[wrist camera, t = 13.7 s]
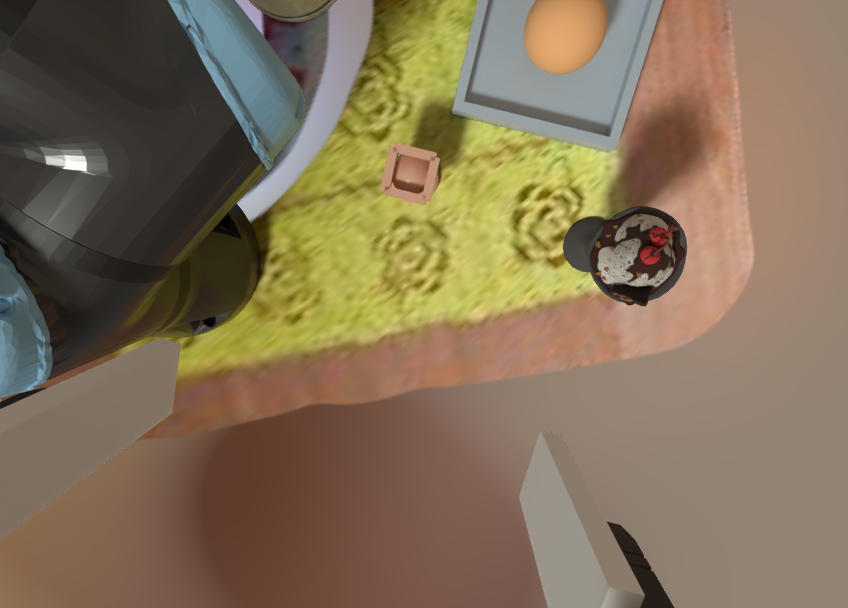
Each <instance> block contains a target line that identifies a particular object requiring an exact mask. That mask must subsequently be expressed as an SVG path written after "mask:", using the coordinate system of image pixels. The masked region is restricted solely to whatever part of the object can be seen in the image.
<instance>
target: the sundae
mask: <svg viewBox="0 0 848 608" xmlns="http://www.w3.org/2000/svg"><path fill="white" fill-rule="evenodd" d="M563 250H564V255H565V257H566V260H567V261H568V262H569V264H570V265H571V266H572V267H574V268H576V269H577V270H580V271H583V272H590V273H591V275H592V277H593V279H594V281H595V283H596V284H597V285H598V287H599V288H600V289H601V290H602V291H603V292H604V293H605V294H606V295H607V296H609V297H611V298H612V299H614V300H616V301H619V302H623V303H626V304H627V305H633V304H635V303H636V304H638V305H640V306H646V305H647V303H648V301H650V300H653V299H656V298H659V297H660V296H662V295H663V294H665V293H666V292H668V291H669V290H670V289H671V288H672V287H673V286H674V285H675V284H676V282H677V281H678V279H679V277H680V275H681V273H682V271H683V268H684V264H685V259H686V253H687V243H686V237H685V234H684V231H683V229H682V228H681V226H680V225H679V223H678V222H677V221H676V220H675V219H674V218H673V217H672V216H670V215H668V214H667V213H665V212H663V211H661V210H658V209H656V208H651V207H643V206H639V207H632V208H629V209H627V210H624V211H622V212H620V213H618V214H616V215H615V216H614V217H612V218H611V219H610V220H606V221H605V220H603V219H600V218H586V219H583V220H580V221H578V222H577V223H576V224H574V225H573V226H572V227H571V228H570V229H569V231H568V232H567V234H566V236H565V238H564V243H563Z"/></svg>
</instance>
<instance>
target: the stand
mask: <svg viewBox="0 0 848 608" xmlns="http://www.w3.org/2000/svg"><path fill="white" fill-rule="evenodd" d="M398 154H401V155H402V156H400V157H399V158H397V157H398ZM436 156H437V153H436V152H432V151H428V150H424V149H420V148H416V147H411V146H407V145H403V144H399V143H395V144H394V147H392V146H389V151H388V155H387V160H386V165H385V170H384V174H383V179H382V184H381V190H384V195H386V196H391V197H395V198H399V199H401V200H403V201H405V202H408V203H419V204H423V205H425V204H426V201H431V197H432V195H433V193H434V192H435V190H436V188H437V185H438V167H439V163H440V158H437V157H436Z"/></svg>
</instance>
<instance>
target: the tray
mask: <svg viewBox="0 0 848 608" xmlns="http://www.w3.org/2000/svg"><path fill="white" fill-rule="evenodd" d="M535 1H536V0H478V2H477V6H476V10H475V15H474V19H473V23H472V27H471V32H470V36H469V40H468V44H467V49H466V53H465V57H464V61H463V66H462V70H461V74H460V78H459V83H458V87H457V91H456V96H455V100H454V104H453V108H452V115H456V116H460V117H464V118H468V119H473V120H477V121H481V122H485V123H489V124H493V125H497V126H501V127H505V128H509V129H513V130H518V131H522V132H526V133H530V134H534V135H538V136H542V137H546V138H550V139H554V140H558V141H563V142H567V143H571V144H575V145H579V146H583V147H587V148H591V149H595V150H599V151H603V152H610V151H613V150H616V148H617V145H618V142H619V139H620V136H621V133H622V129H623V126H624V123H625V120H626V117H627V114H628V110H629V107H630V104H631V101H632V98H633V95H634V91H635V88H636V85H637V82H638V79H639V76H640V72H641V69H642V66H643V63H644V60H645V57H646V54H647V50H648V47H649V44H650V41H651V38H652V35H653V31H654V28H655V25H656V22H657V19H658V16H659V12H660V9H661V6H662V3H663V0H603V1H604V3H605V6H606V10H607V30H606V35H605V38H604V40H603V43H602V45H601V47H600V49H599V50H598V52H597V53H596V55H595V56H594V57H593V58H592V59H591V60H590V61H589V62H588V63H587V64H586V65H585V66H583V67H582V68H580V69H578V70H576V71H574V72H571V73H568V74H562V75H556V74H550V73H547V72H545V71H543V70H541V69H540V68H538V67H537V66H536V65H535V64H534V63H533V62H532V60H531V59H530V57H529V56H528V53H527V51H526V48H525V43H524V27H525V22H526V19H527V16H528V13H529V11H530V9H531V7H532V6H533V4H534V2H535Z"/></svg>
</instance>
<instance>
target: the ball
mask: <svg viewBox="0 0 848 608" xmlns="http://www.w3.org/2000/svg"><path fill="white" fill-rule="evenodd" d="M606 30H607V10H606V6H605V3H604V1H603V0H536V1H535V2H534V4H533V6H532V7H531V9H530V11H529V13H528V16H527V19H526V22H525V27H524V43H525V48H526V51H527V53H528V56H529V57H530V59H531V60H532V62H533V63H534V64H535V65H536V66H537V67H538V68H540V69H541V70H543V71H545V72H547V73H550V74H556V75H562V74H568V73H571V72H574V71H576V70H578V69H580V68H582V67H583V66H585V65H586V64H587V63H588V62H589V61H590V60H591V59H592V58H593V57H594V56H595V55H596V53H597V52H598V50H599V49H600V47H601V45H602V43H603V40H604V38H605V35H606Z"/></svg>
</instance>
